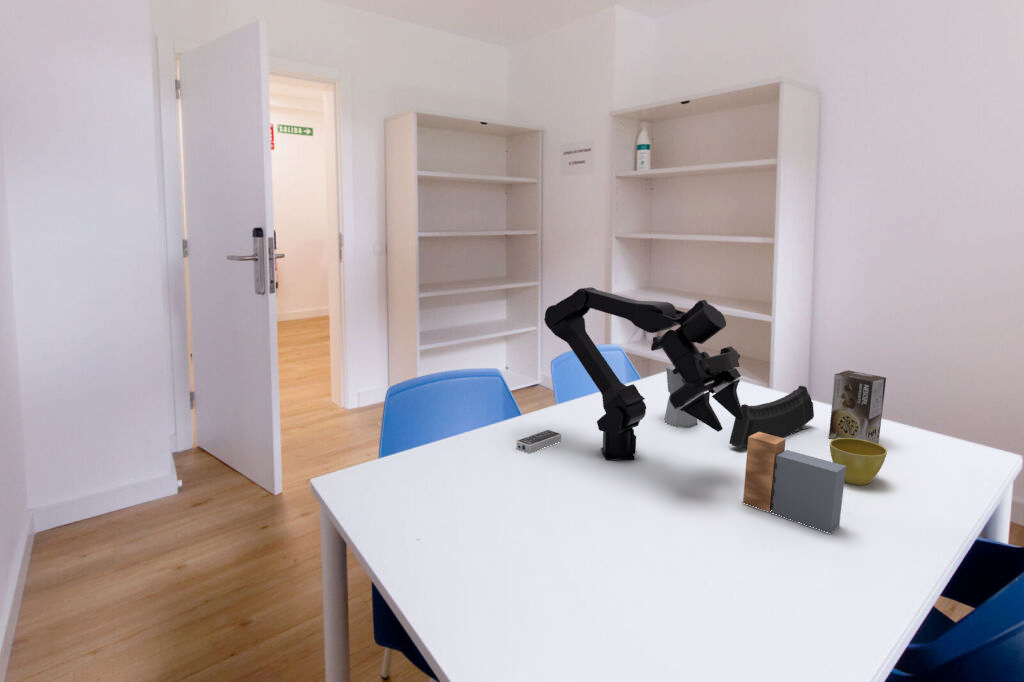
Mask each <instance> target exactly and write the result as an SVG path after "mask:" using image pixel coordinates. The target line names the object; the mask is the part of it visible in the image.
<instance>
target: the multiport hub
mask: <svg viewBox="0 0 1024 682" xmlns="http://www.w3.org/2000/svg"><path fill="white" fill-rule="evenodd" d="M558 442H560V443H562V434H561V433H559V432H557V431H553V430H550V429H546V430H543V431H541V432H537V433H534V434H531V435H529V436H527V437H523V438H520V439H517V440H516V450H518V449H519V451H521V452H523V451H524V453H526V452H527V454H532V452H533V453H535V451H536V452H538V451H537V450H539V451H541V450H543V449H542V448H544V447H547V446H549V447H551V446H550V445H552V446H554V445H553V444H555V443H558ZM558 444H559V443H558ZM555 445H556V444H555ZM547 448H548V447H547ZM540 449H541V450H540ZM544 449H545V448H544Z"/></svg>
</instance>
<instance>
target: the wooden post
mask: <svg viewBox="0 0 1024 682" xmlns="http://www.w3.org/2000/svg"><path fill="white" fill-rule="evenodd" d="M786 439H787V438H785V437H783V438H781V437H777V436H773V435H769V434H765V433H761V432H757V433H755V434H753V435H751V436H749V437H748V446H747V447H746V449H747V450H746V463H745V474H744V475H745V476H744V483H743V484H744V485H743V486H744V487H743V495H742V496H743V497H742V504H743V503H745V504H748V505H751V506H754V507H757V508H759V509H762V510H765V511H768V512H770V511H771V510H772V509H771V503H772V502H773V496H772V490H774V482H773V479H774V476H775V463H776V458H777V455H778V454H780V453H782V452H784V451H786V450H785V449H786ZM745 504H744V505H745ZM748 505H747V506H748ZM751 506H750V507H751ZM754 507H753V508H754ZM759 509H758V510H759ZM762 510H761V511H762ZM765 511H764V512H765ZM768 512H767V513H768ZM771 512H772V511H771ZM771 512H770V513H771Z"/></svg>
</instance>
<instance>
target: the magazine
mask: <svg viewBox="0 0 1024 682" xmlns="http://www.w3.org/2000/svg"><path fill="white" fill-rule="evenodd" d="M740 405H741V404H740ZM741 409H742V412H743V415H744V419H742V420H738V419H737V418H736V417H734V422H733V426H732V429H731V433H730V438H729V442H728V443H729V444H730V445H731V446H733V447H736V448H744V447H745V448H747V447H748V437H749V436H751V435H753V434H755V433H757V432H761V433H765V434H769V435H773V436H777V437H781V438H785V437H788V436H789V435H791V434H793V433H795V432H796V431H798V430H802V429H803V427H804V426H805V425H806V424H808V423H809V422H810V421H812V420H813V419H814V416H815V414H814V413H815V412H814V402H813V401H812V398H811V395H810V393H809V390H808V388H807V386H804V385H799V386H798V387H797V389H794V390H793V391H792V392H790V393H789V394H787V395H784V396H783V397H781V398H779V399H776V400H773V401H770V402H766V403H761V404H757V405H748V404H745V403H744V404H742V405H741Z"/></svg>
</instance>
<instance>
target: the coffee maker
mask: <svg viewBox="0 0 1024 682" xmlns="http://www.w3.org/2000/svg"><path fill="white" fill-rule="evenodd" d="M665 369H666V381H667V392H668V393H669V395H668V400H667V404H666V409H665V412H664V418H663V420H665V421H664V424H665V423H667V424H666V425H668V424H670V425H669V426H671V425H673V426H672V427H674V426H676V427H675V428H686V427H688V428H689V429H690V428H693V427H696V426H698V424H699V423H698V419H697V418H695V417H693V416H691V415H690V414H688V413H686V412H684V411H681V410H680V409H681V408H683V407H684V406H685V405H684V406H682V407H680V408H677V409H675V408H674V407H673V405H672V404H671V402H670V395H671V394H672V393H674V392H675V391H676V390H678V389H679V388H681V387H682V386H683V385H685V384H686V383H685V382H684V380H683V379H682V377H681V376H680V374H676V375H675V374H674V373H673V371H672V370H673V369H675V367H674V365H673V364H669V365H667V366H666V367H665Z"/></svg>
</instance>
